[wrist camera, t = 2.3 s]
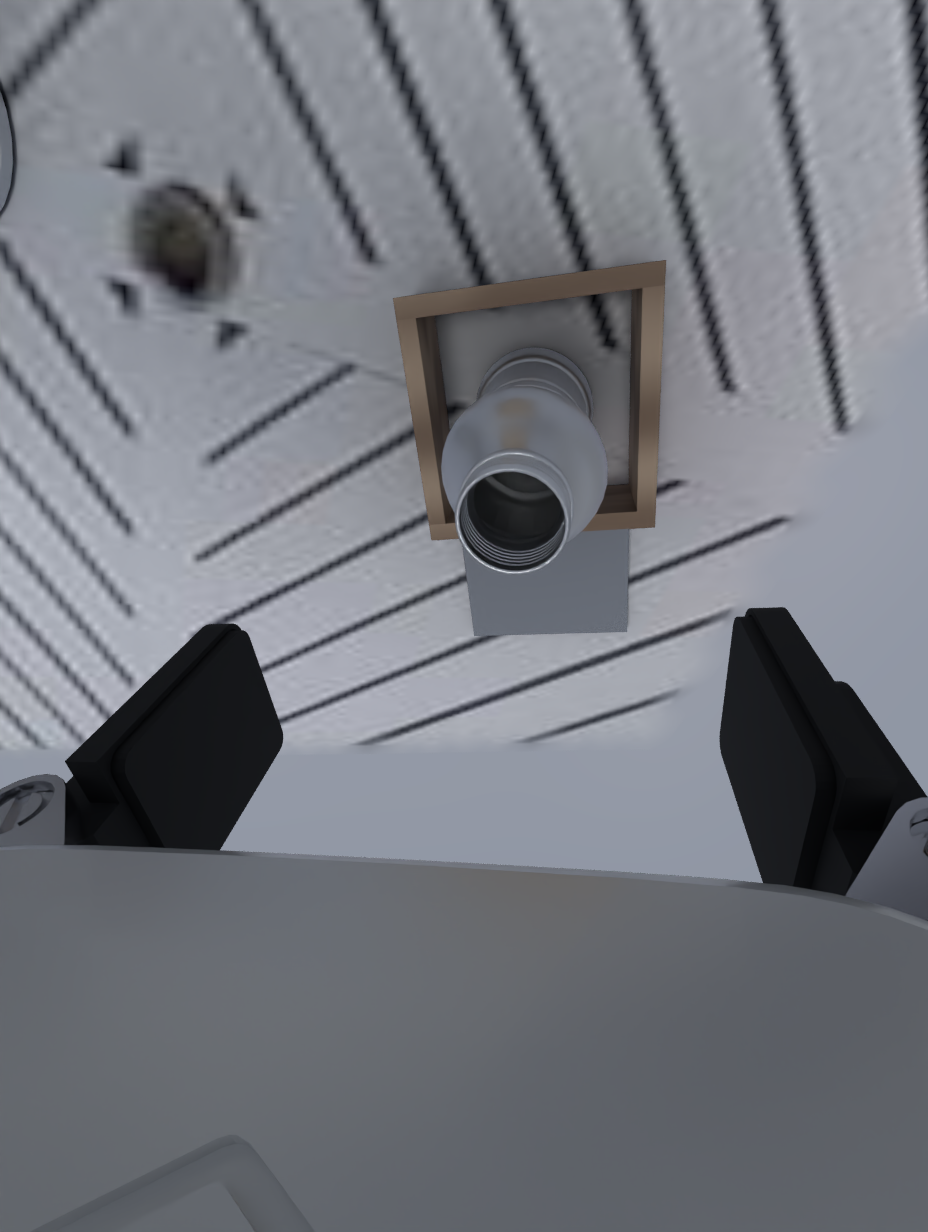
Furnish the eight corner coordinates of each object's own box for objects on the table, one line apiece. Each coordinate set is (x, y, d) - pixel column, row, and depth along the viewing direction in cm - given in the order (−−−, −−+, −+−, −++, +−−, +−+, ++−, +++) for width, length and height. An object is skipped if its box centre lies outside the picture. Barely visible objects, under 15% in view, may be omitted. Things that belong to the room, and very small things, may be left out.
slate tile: (462, 531, 40) (461, 535, 40) (627, 521, 38) (629, 525, 37) (475, 630, 44) (474, 635, 43) (626, 625, 42) (627, 631, 41)
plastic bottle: (526, 316, 33) (486, 363, 16) (615, 393, 34) (667, 511, 17) (460, 410, 36) (368, 533, 19) (544, 477, 37) (529, 647, 20)
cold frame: (414, 295, 33) (392, 298, 29) (651, 261, 31) (665, 260, 27) (445, 511, 40) (431, 540, 35) (644, 498, 37) (654, 527, 33)
